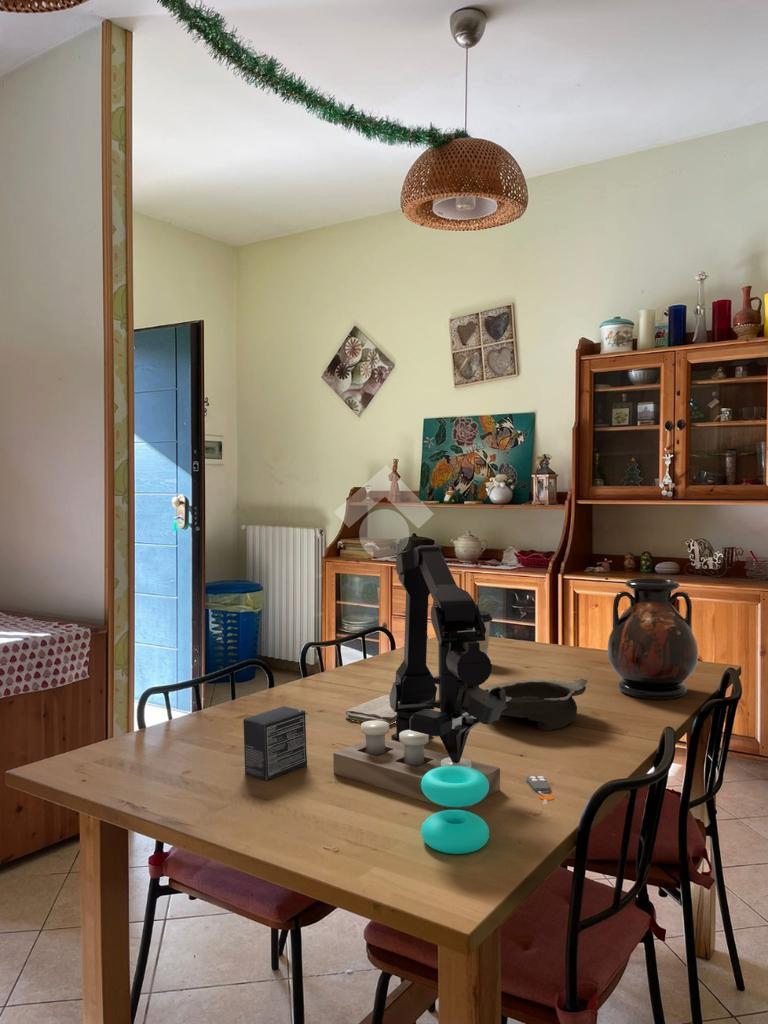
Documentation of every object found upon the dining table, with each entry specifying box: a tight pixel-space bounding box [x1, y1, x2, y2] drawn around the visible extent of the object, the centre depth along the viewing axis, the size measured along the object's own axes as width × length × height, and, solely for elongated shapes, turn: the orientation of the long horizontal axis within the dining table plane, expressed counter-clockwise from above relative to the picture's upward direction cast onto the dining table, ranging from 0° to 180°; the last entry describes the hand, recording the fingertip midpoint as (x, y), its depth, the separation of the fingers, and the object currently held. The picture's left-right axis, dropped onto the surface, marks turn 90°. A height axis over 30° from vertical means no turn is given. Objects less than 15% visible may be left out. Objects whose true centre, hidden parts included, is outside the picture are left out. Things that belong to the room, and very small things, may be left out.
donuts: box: [420, 766, 490, 855], centre depth 117 cm, size 10×10×10 cm
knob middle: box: [398, 730, 430, 767], centre depth 140 cm, size 5×5×5 cm
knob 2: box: [441, 756, 472, 768], centre depth 135 cm, size 5×5×5 cm
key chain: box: [525, 775, 555, 805], centre depth 134 cm, size 13×4×2 cm, turn 3°
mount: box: [332, 738, 501, 811], centre depth 141 cm, size 12×28×4 cm, turn 51°
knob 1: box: [360, 720, 390, 756], centre depth 146 cm, size 5×5×5 cm
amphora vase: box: [607, 577, 699, 700], centre depth 198 cm, size 22×22×28 cm
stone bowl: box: [482, 678, 588, 732], centre depth 177 cm, size 25×25×9 cm
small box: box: [242, 705, 308, 782], centre depth 147 cm, size 11×6×10 cm, turn 141°
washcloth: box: [345, 694, 399, 726], centre depth 182 cm, size 12×18×3 cm, turn 147°
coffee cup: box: [462, 610, 493, 656], centre depth 231 cm, size 9×9×15 cm
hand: (455, 762), depth 135 cm, fingers closed, pressing on knob 2
